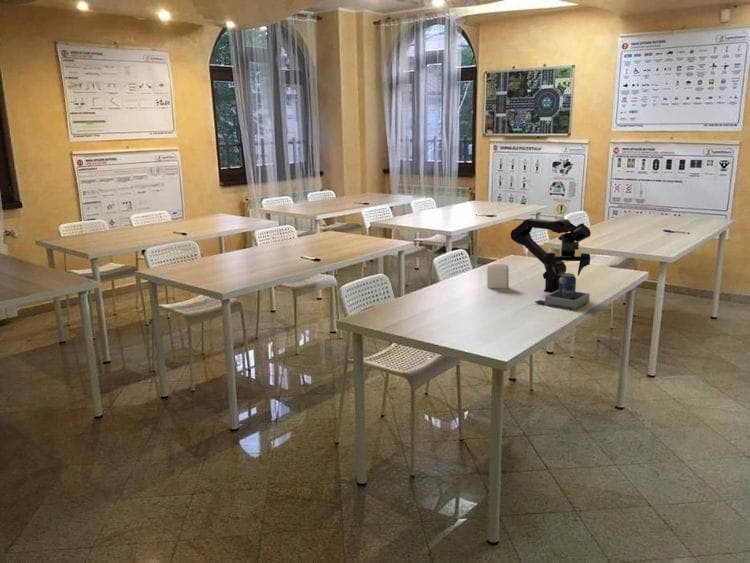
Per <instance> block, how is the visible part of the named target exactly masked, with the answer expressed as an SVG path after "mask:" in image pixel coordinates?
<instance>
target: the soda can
mask: <svg viewBox="0 0 750 563" xmlns="http://www.w3.org/2000/svg"><path fill="white" fill-rule="evenodd" d="M576 287H577V279H576V275H575V273H568V272H565V273H563V274H561V276H560V278H559V297H558V298H564V299H570V300H575V292H576Z"/></svg>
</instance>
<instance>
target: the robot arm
mask: <svg viewBox="0 0 750 563" xmlns="http://www.w3.org/2000/svg"><path fill="white" fill-rule="evenodd" d="M533 228H535V229H541V230H548V231H551V232H553V233H556V234H561V235H560V236H558V240H560V241H561V248H560V249H561V250H560V254H561V255H556V252H547V251H545V249H543V248H542V246H540V245H539V244H538V243H537V242H536V241H535V240H533V238H532V235H531V232H532V230H533ZM591 233H592V232H591V230H590V228H589V227H588V226H587V225H585V224H584V222H583V223H579V224H577V225H574V224H573V223H571V221H570V219H566V218H565V219H556V220H550V219H549V220H548V219H547V220H546V219H538V218H537V219H536V218H526V219H525V220H524V219H523V221H522V222H521V223H520V224H519V225H517V226H516V227H515V228H513V229H512V230H511V231H510V239H511V240H512V241H514V242H515V243H517V244H519V245H521V246H523V247H525V248H526V249H527V250H528V251H529V252H530V253H531V254H532V255H533V256H535V258H536V259H537V260H539V261H540V262H541V263H542V264H543V266H544V268H545V272H544V273H542V277H543V279H544V280H545V281H544V282H545V283H544V284H545V285H544V286H545V288H544V289H543V291H544V292H547V293H552V292H554V291H556V290H558V289H559V278H560V276H561V274H563V273H567V265H566V264H565V261H566V262H567V261H568V262H579V264H578V269H577V277H580V274H581V272H582V270H583V269H584V268H585V267H587V266H589V265H591V264H590V263H591V254H590V253H588V252H587V253H583V252H581V253H580V256H575V255H576V250H577V251H578V250H579V246H580V244H579V243H580V242H582V241H584V240H585V239H589V238H590V237H591Z"/></svg>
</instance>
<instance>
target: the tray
mask: <svg viewBox="0 0 750 563" xmlns="http://www.w3.org/2000/svg"><path fill="white" fill-rule="evenodd" d="M558 297H559V289H558V290H556V291H554V292H549V293H548V294H546V295H544V305H545V306H548V305H549V307H555V308H559V307H560V308H561V309H565V308H567V310H570V311H571V310H572V311H578V310H579V309H581V308H583V307H584V306H586V305H587V304H589V303H590V293H587V292H581V291H575V300H570V299H564V298H558Z"/></svg>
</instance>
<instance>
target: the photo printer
mask: <svg viewBox="0 0 750 563" xmlns="http://www.w3.org/2000/svg"><path fill="white" fill-rule="evenodd" d="M486 269H487V270H486V273H487V274H486V287H487V288H488V289H507V290H508V289H509V287H510V285H509V282H510V281H509V278H510V277H509V274H510V270H509V265H508V264H507V263H504V262H492V263H491V262H490V263H488V264H487V268H486Z"/></svg>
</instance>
